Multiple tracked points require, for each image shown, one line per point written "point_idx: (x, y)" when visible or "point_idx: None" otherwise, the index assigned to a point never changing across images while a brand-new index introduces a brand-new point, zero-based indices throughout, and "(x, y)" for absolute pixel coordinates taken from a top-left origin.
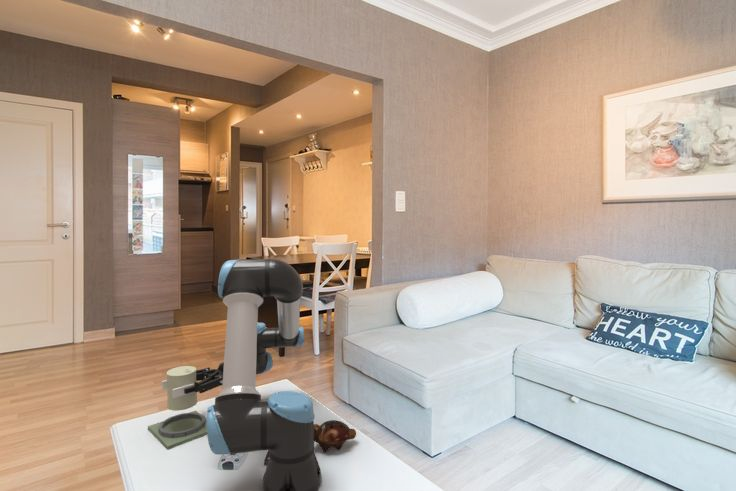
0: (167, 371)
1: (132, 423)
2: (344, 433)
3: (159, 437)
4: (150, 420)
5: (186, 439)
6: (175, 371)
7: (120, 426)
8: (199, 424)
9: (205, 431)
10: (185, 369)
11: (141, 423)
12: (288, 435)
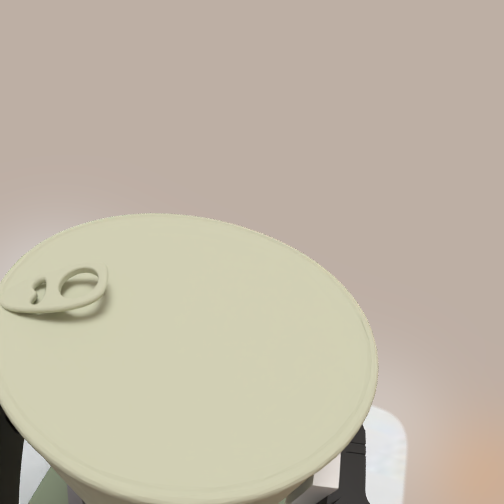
0: (307, 257)
1: (386, 444)
2: None
3: None
4: (366, 488)
5: None
6: (242, 278)
7: (390, 417)
8: (76, 501)
9: (43, 490)
10: (177, 351)
11: (366, 461)
12: None
